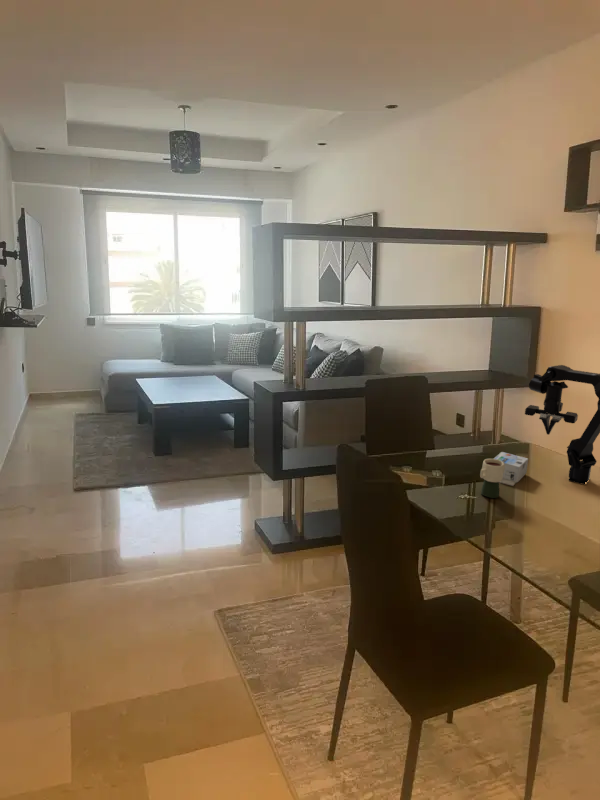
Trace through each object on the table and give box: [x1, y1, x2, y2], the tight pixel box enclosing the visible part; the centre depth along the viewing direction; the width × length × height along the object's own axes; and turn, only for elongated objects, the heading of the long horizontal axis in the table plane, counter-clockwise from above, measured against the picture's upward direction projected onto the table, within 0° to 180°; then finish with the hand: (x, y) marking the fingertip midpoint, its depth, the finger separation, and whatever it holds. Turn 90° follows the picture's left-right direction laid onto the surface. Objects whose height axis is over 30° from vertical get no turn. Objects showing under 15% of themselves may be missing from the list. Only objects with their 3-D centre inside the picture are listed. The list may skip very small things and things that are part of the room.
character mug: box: [479, 458, 505, 499], centre depth 213 cm, size 11×7×13 cm, turn 116°
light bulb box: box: [493, 451, 529, 483], centre depth 231 cm, size 11×7×11 cm
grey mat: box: [499, 478, 517, 487], centre depth 233 cm, size 12×16×1 cm
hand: (548, 434), depth 239 cm, fingers closed
